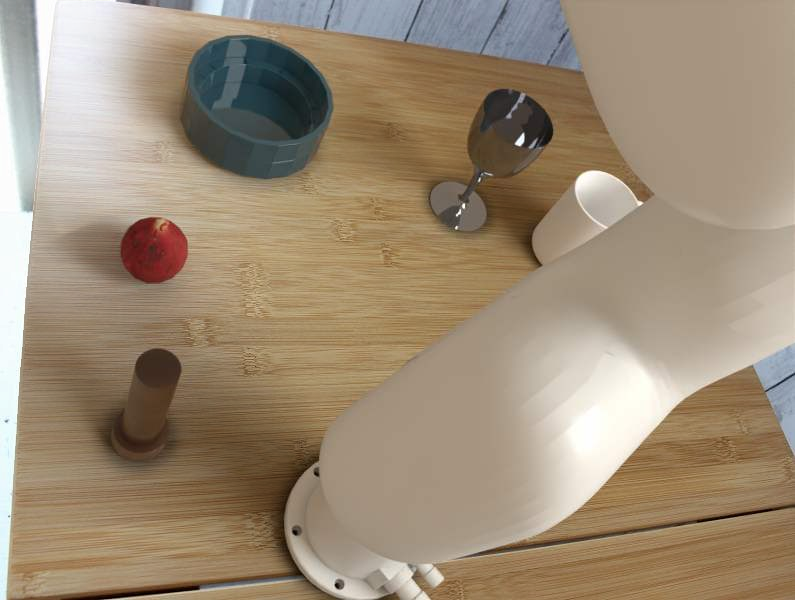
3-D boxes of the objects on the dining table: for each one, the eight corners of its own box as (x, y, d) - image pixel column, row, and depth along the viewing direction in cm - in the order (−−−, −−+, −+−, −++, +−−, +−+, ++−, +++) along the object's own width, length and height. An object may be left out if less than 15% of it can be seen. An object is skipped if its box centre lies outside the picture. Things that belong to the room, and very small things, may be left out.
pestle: (176, 443, 70) (202, 376, 60) (131, 472, 68) (150, 407, 57) (145, 403, 71) (166, 330, 61) (99, 431, 68) (113, 359, 58)
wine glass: (415, 182, 96) (470, 90, 84) (471, 175, 100) (531, 86, 88) (444, 239, 93) (505, 152, 81) (500, 229, 97) (566, 144, 85)
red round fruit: (168, 308, 76) (181, 260, 70) (106, 285, 75) (114, 234, 69) (189, 260, 80) (204, 210, 73) (131, 237, 79) (140, 185, 72)
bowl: (344, 152, 94) (361, 116, 89) (238, 202, 85) (250, 165, 81) (261, 60, 97) (273, 20, 92) (150, 99, 88) (157, 57, 83)
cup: (518, 226, 98) (562, 172, 90) (595, 217, 104) (642, 165, 96) (548, 286, 95) (596, 235, 87) (625, 272, 101) (677, 224, 93)
